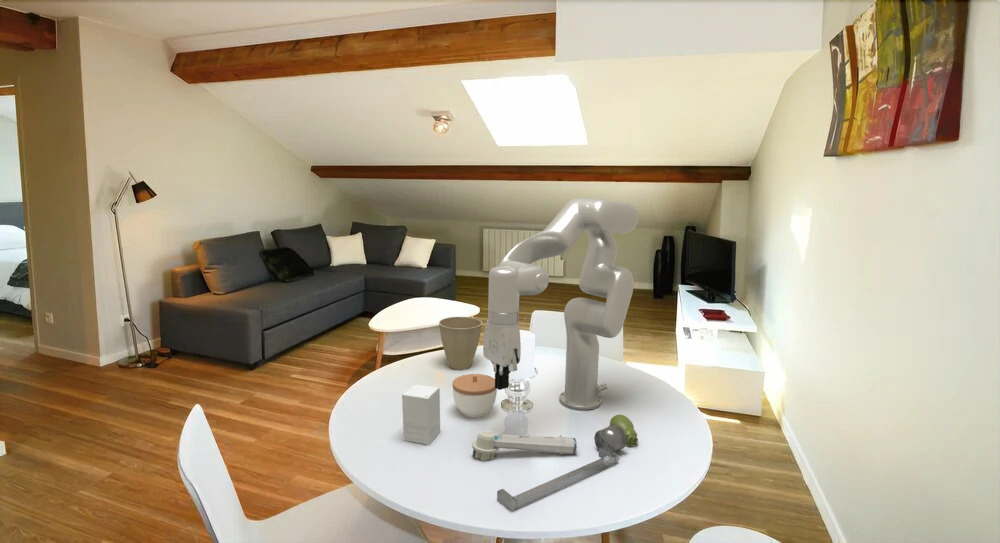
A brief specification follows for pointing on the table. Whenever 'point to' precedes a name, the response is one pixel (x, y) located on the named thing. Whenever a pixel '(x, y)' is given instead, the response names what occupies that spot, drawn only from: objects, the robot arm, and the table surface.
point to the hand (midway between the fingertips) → (501, 387)
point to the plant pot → (460, 340)
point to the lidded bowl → (474, 394)
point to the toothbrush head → (521, 444)
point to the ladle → (605, 443)
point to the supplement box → (421, 414)
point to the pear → (625, 428)
